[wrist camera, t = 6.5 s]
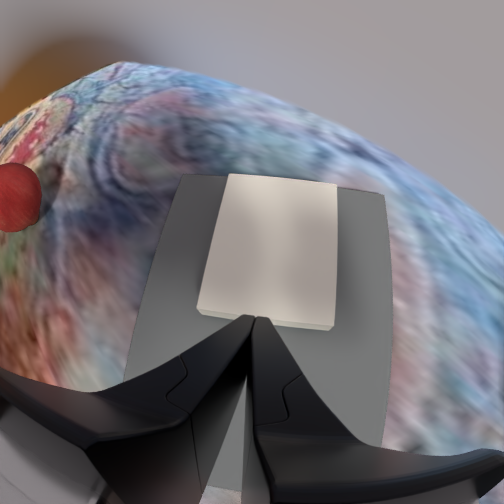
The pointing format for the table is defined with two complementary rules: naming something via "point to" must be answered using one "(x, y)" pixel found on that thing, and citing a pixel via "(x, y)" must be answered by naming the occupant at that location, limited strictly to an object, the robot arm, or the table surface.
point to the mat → (296, 339)
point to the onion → (18, 197)
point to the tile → (274, 252)
